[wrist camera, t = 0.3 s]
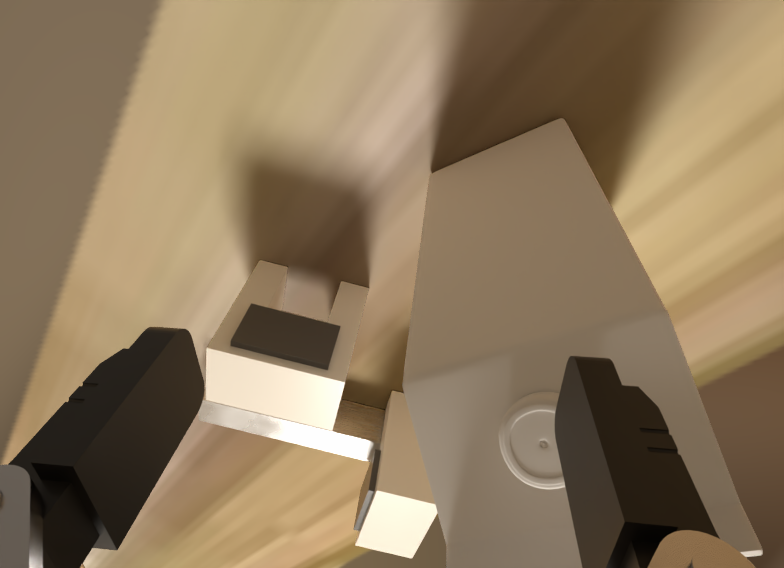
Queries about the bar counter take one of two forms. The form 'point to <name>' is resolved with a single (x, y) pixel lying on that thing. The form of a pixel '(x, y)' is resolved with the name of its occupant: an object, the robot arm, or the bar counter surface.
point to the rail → (308, 427)
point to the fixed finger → (395, 488)
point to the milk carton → (535, 350)
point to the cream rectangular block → (283, 352)
